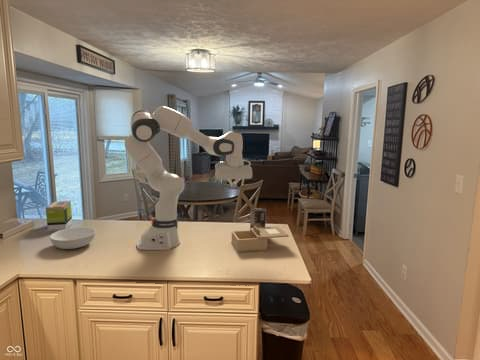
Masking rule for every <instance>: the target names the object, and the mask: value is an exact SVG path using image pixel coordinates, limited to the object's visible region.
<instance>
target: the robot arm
mask: <svg viewBox="0 0 480 360" xmlns="http://www.w3.org/2000/svg"><path fill="white" fill-rule="evenodd" d="M130 120H131V121H130V130H131V135H129V136H128V137H127V138H126V139H125V141H124V146H125V150H126V151H127V153H128V154H129V155H130V157H131V159H132V160H133V161H134V163H135V164H136V165H137V167H138V168H139V169H140V170H141V172H142V173H143V174H144V175H145V177H146V180H147V183H148V185H149V187H151V189H153V190H154V191H157V192H159V198H158V201H157V202H156V203H155V207H154V208H155V209H154V210H155V217H151V219H150V221H151V225H150V226H149V227H148V228H146V229H144V231H143V232H142V234H141V237H140V239H139V240H138V241H137V242H136V248H137V250H140V251H142V250H144V251H145V250H146V251H150V250H151V251H168V250H170V249H172V248H175V247H178V246H179V245H180V243H181V241H180V238H179V234H178V227H179V226H178V225H179V221H178V213H177V212H178V210H177V209H178V201H179V196H181V194H182V193H183V192H184V189H185V186H186V185H185V181H184V179H183V178H182V177H180V176H179V175H178V174H176V173H171V172H168V171H167V170H166V169H165V167H164V165H163V159H162V158H161V157H160V155H159V154H158V153H157V151H156V150H155V148H154V147H153V145H151V143H150V141H151V140H153V139H154V138H155V136H157V134H160V132H161V130H162V131H164V132H167V133H168V134H171V135H172V136H175V137H177V138H180V139H185V140H189V141H191V142H193V143H194V144H196V145H198V146H200V147H201V148H202V150H204V151H205V153H206V154H208V155H210V156H217V157H223V156H225V161H218V162H216V163H215V165H214V169H215V173H214V174H215V175H214V178H215V179H217V180H228V182H229V184H230V188H237V184H238V183H239V180H251V179H252V178H253V169H252V166H251V165H252V164H251V161H249V160H247V159H245V158H243V149H244V146H243V145H244V144H243V143H244V141H243V135H242V134H241V133H240V132H238V131H233V130H231V131H228V132H226V133H225V134H224V135H221V136H219V137H217V136H208V135H206V134H205V133H202V132H200V131H199V130H197V129H196V128H195V127H194V123H193V121H192V120H191V119H190V118H189V117H188V116H186V115H185V114H183V113H181V112H180V111H177V110H175V109H173V108H170V107H168V106H164V105H160V106H158V107H157V108H156V109H155V110H154V112H153V113H152V114H151V112H149V111H147V110H143V109H141V110H137V111H136V112H134V114H132V116H131V119H130ZM233 180H235V182H234V183H232V181H233Z"/></svg>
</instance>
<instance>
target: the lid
mask: <svg viewBox="0 0 480 360" xmlns="http://www.w3.org/2000/svg"><path fill="white" fill-rule="evenodd" d="M249 230H251V231H252V232H253V234H254V235H255V236H256V237H257V238H258V239H259V238H268V239H271V238H272V239H275V238H289V236H290V235H289V234H288V233H287V232H285V231H284V230H283V229H282V228H281V227H280V226H265V227H260V228H257V227H256V226H253V228H250V227H249Z"/></svg>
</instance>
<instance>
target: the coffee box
mask: <svg viewBox="0 0 480 360" xmlns="http://www.w3.org/2000/svg"><path fill="white" fill-rule="evenodd" d="M249 213H250V214H249V215H250V218H249V221H250V222H249V223H250V224H249V229H250V228H253V226H256V227H257V228H260V227H266V221H267V220H266V218H267V217H266V216H267V208H259V207H251V208H250V211H249Z"/></svg>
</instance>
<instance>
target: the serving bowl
mask: <svg viewBox="0 0 480 360" xmlns="http://www.w3.org/2000/svg"><path fill="white" fill-rule="evenodd" d="M95 237H96V230H95V228H93V227H88V226H87V227H85V226H84V227H83V226H80V227H79V226H77V227H68V228H67V229H64V230H59V231H54V232H53V233H52V234H50V236H49V239H50V242H51V244H52V245H53V246H54V247H56V248H58V249H61V250H62V249H63V250H75V249H79V248H82V247H85V246H87V245H90V243H91V242H93V240H94V239H95Z"/></svg>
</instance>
